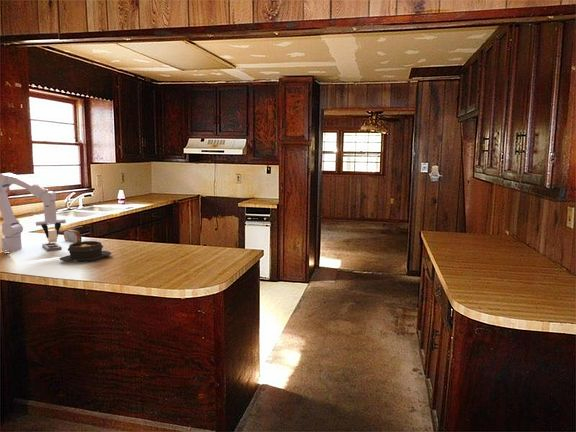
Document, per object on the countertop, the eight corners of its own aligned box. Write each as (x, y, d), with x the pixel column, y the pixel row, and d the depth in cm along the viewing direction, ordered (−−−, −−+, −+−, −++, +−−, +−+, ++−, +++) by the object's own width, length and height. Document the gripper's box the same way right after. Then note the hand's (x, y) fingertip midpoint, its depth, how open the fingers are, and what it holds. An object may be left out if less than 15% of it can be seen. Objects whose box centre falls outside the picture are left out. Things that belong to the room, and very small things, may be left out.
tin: (82, 244, 263) (81, 230, 262) (77, 245, 261) (76, 231, 260) (68, 241, 271) (67, 228, 270) (63, 242, 269) (62, 229, 267)
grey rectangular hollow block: (47, 253, 239) (47, 247, 238) (42, 249, 250) (42, 242, 250) (61, 252, 243) (61, 245, 242) (56, 247, 255) (55, 241, 254)
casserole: (66, 267, 212) (65, 250, 211) (55, 260, 225) (53, 244, 224) (117, 258, 229) (116, 243, 228) (103, 252, 243) (102, 237, 241)
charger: (49, 242, 240) (48, 231, 239) (47, 241, 244) (46, 229, 243) (57, 241, 242) (56, 230, 241) (55, 240, 246) (54, 228, 245)
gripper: (36, 215, 233) (38, 239, 235) (66, 212, 242) (67, 236, 244) (34, 213, 238) (36, 237, 240) (63, 211, 247) (65, 234, 249)
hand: (52, 237), depth 243 cm, fingers closed on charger, 4 cm apart
